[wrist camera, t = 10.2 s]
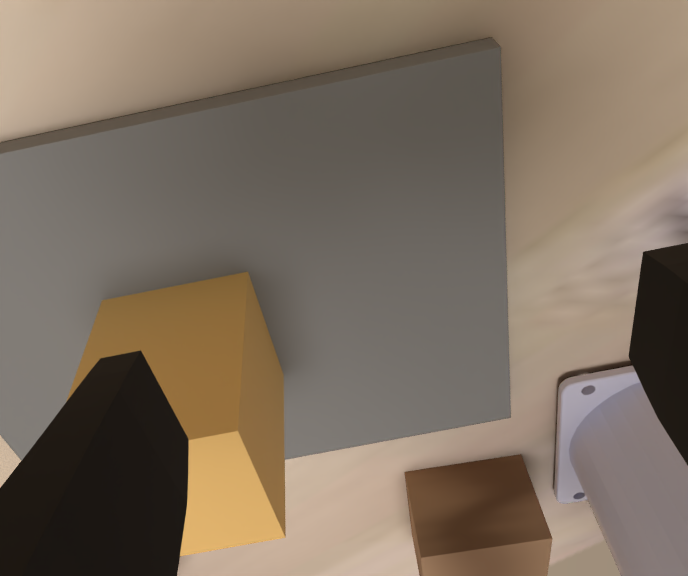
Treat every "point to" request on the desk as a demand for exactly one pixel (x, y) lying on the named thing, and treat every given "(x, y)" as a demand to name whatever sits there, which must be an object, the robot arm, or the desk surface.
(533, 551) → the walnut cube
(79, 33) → the desk surface
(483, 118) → the slate mat
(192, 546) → the ochre block
